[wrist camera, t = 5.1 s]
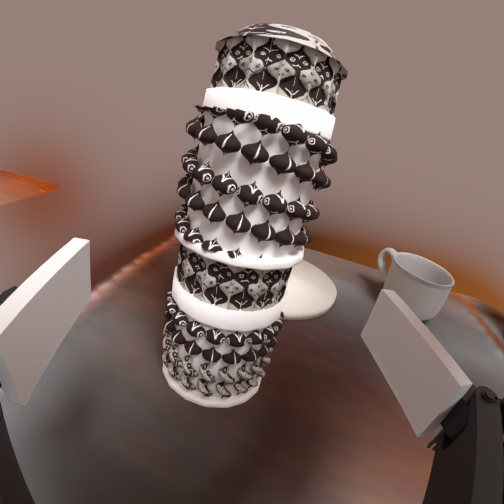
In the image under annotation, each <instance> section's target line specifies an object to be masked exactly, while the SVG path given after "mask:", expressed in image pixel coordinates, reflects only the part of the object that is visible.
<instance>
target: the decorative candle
mask: <svg viewBox="0 0 504 504" xmlns="http://www.w3.org/2000/svg"><path fill="white" fill-rule="evenodd" d="M215 49H216V50H217V51H218V52H219V55H218V58H217V62H216V66H215V70H214V74H213V78H212V82H211V86H210V88H209V89H207V90H206V94H205V98H204V103H203V107H202V106H198V105H197V106H195V108H197V109H198V111H200V112H201V114H204V115H206V118H205V117H204V115H203V116H202V117H200V118H198V116H197V117H196V118H195V119H192V120H190V121H188V122H187V124H186V132H187V133H188V134H190V135H191V136H192V137H193V138H194V141H195V139H196V138H197V139H198V140H199V141H200V146H199V145H198V146H197V147H196V148H193V149H191V150H189V151H188V152H187V153H185V154H184V155H183V156H182V158H181V159H182V163H183V169H184V170H185V171H186V172H187V173H188V174H186V176H185V177H182V178H181V179H180V180H179V181H178V188H177V193H178V195H179V196H180V197H182V198H184V199H185V203H183V204H182V205H181V208H180V209H179V210H178V211H177V212H176V213H175V219H176V223H175V227H176V229H175V236H176V237H177V238H178V240H179V241H180V242H181V244H180V251H179V258H178V265H177V266H176V267H175V272H174V278H173V288H172V290H170V291H169V292H168V293H167V295H166V298H167V300H168V302H167V303H166V312H165V317H166V318H167V320H166V321H165V323H164V326H165V328H164V331H163V337H164V339H163V347H162V349H163V355H162V361H163V371H162V372H163V374H164V376H165V378H166V380H167V382H168V384H169V386H170V387H171V388H172V389H173V390H174V391H175V392H177V393H178V394H179V395H180V396H181V397H182V398H184V399H185V400H188V401H190V402H193V403H196V404H198V405H201V406H204V407H214V408H229V407H232V406H235V405H239V404H242V403H245V402H246V401H248V400H249V399H250V398H251V397H252V396H253V395H254V394H255V393H256V392H257V391H258V389H259V385H260V382H261V379H262V378H263V377H264V376H265V372H264V371H263V368H262V367H261V366H267V364H269V363H270V361H271V360H270V358H269V357H268V356H267V354H268V353H271V352H272V351H273V347H274V346H275V345H276V338H275V336H277V335H278V331H279V330H280V329H281V328H282V321H281V320H282V319H283V318H284V314H283V312H282V308H283V305H284V302H285V298H286V294H287V290H286V287H287V283H288V280H289V277H290V273H291V270H292V267H293V266H295V265H297V264H299V263H301V262H302V259H303V253H304V247H303V245H305V244H308V243H310V242H311V241H312V236H311V234H310V233H309V231H308V230H307V229H306V227H304V226H303V223H304V222H306V221H307V222H308V221H311V220H315V219H317V218H318V217H319V214H320V213H319V210H318V209H317V208H316V207H315V206H314V204H313V201H312V204H311V200H310V202H309V199H310V195H311V191H312V188H313V189H315V190H317V189H318V191H319V190H320V189H324V188H328V187H329V186H330V184H331V181H330V179H329V178H328V177H327V176H326V174H325V173H324V170H323V171H322V170H321V166H324V165H325V166H326V165H329V164H333V163H335V162H336V161H337V151H336V150H335V148H334V147H333V146H331V144H330V139H331V135H332V130H333V126H334V123H335V117H333V114H334V109H335V105H336V101H337V97H338V92H339V88H340V83H341V80H343V79H346V77H347V74H348V71H347V70H346V69H345V68H344V67H343V65H342V64H341V63H340V62H339V61H337V60H336V58H335V55H334V53H333V51H332V50H331V49H330V47H329V46H328V45H327V44H326V43H325V42H324V41H323V40H322V39H320V38H318V37H317V36H315V35H313V34H311V33H309V32H307V31H304V30H301V29H298V28H295V27H291V26H286V25H280V24H272V23H267V24H254V25H251V26H248V27H245V28H243V29H241V30H239V31H238V32H237V33H235V34H234V35H233V36H230V37H227V38H225V39H222V40H220V41H217V42H216V47H215ZM327 142H328V143H327ZM318 165H319V169H318ZM317 169H318V170H317ZM191 185H192V188H191ZM185 215H186V216H185ZM273 322H274V323H273Z"/></svg>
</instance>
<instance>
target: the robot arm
mask: <svg viewBox="0 0 504 504" xmlns="http://www.w3.org/2000/svg"><path fill="white" fill-rule="evenodd" d="M90 298H91V284H90V241H89V240H85V239H79V238H73V239H72V240H71V241H70V242H69V243H67V244H66V245H65V246H64V247H63V248H61V249H60V250H59V251H58V252H57V253H56V254H54V255H53V256H52V257H51V258H50V259H49V260H48V261H47V262H46V263H44V264H43V265H42V266H41V267H40V268H39V269H38V270H37V271H35V272H34V274H32V275H31V276H30V277H29V278H28V279H27V280H26V281H25V282H24V283H23V284H22V285H21V286H20V287H16V286H14V287H12V288H10V289H8V290H6V291H4V292H3V293H2V294H1V295H0V388H1V387H2V389H3V391H4V393H5V395H6V397H7V398H8V399H10V400H12V401H14V402H16V403H18V404H21V405H23V406H25V407H26V405H27V403H28V401H29V399H30V397H31V395H32V393H33V391H34V390H35V388H36V386H37V384H38V382H39V380H40V378H41V377H42V375H43V373H44V371H45V370H46V368H47V366H48V364H49V363H50V361H51V359H52V357H53V356H54V354H55V352H56V351H57V349H58V347H59V346H60V344H61V342H62V341H63V339H64V338H65V336H66V334H67V333H68V331H69V330H70V328H71V327H72V325H73V323H74V322H75V320H76V319H77V317H78V316H79V314H80V313H81V311H82V310H83V308H84V307H85V305H86V304H87V302H88V301H89V299H90ZM360 336H361V337H362V339H363V341H364V342H365V344H366V346H367V347H368V349H369V351H370V353H371V354H372V356H373V358H374V359H375V361H376V363H377V365H378V366H379V368H380V370H381V371H382V373H383V375H384V377H385V379H386V380H387V382H388V384H389V386H390V387H391V389H392V391H393V393H394V395H395V396H396V398H397V400H398V402H399V404H400V405H401V407H402V409H403V411H404V413H405V415H406V416H407V418H408V420H409V422H410V424H411V426H412V428H413V430H414V432H415V433H416V435H417V437H421V436H425V435H429V434H431V433H432V432H433V431H434V430H435V429H436V428H437V427H438V426H439V425H440V424H441V425H442V427H443V429H442V430H441V431H440V433H439V434H438V435H437V436H436V437H435V438H434V439H433V440H432V441H431V442H430V443H429V444H428V446H427V448H430V447H431V446H432V445H433V444H434V443H437V444H436V445H435V446H434V447H433V448H432V450H435V455H434V460H433V465H432V469H431V473H430V478H429V482H428V486H427V489H426V493H425V497H424V500H423V503H422V504H504V442H503V435H504V398H503V399H498V397H497V396H496V394H495V393H494V392H493V391H492V390H490V389H489V388H487V387H484V386H479V387H478V388H476V387H475V386H474V385H473V383H472V382H471V381H470V379H469V378H468V377H467V376H466V374H465V373H464V372H463V370H462V369H461V368H460V367H459V365H458V364H457V363H456V362H455V360H454V359H453V358H452V357H451V356H450V354H449V353H448V352H447V351H446V349H445V348H444V347H443V346H442V345H441V343H440V342H439V341H438V340H437V339H436V338H435V336H434V335H433V334H432V333H431V332H430V331H429V329H428V328H427V327H426V326H425V325H424V324H423V322H422V321H421V320H420V319H419V318H418V317H417V316H416V315H415V313H414V312H413V311H412V310H411V309H410V308H409V307H408V306H407V304H406V303H405V302H404V301H403V300H402V299H401V298H400V297H399V296H398V295H397V294H396V292H395V291H394V290H387V289H381V291H380V294H379V296H378V298H377V301H376V303H375V305H374V307H373V309H372V312H371V314H370V316H369V318H368V320H367V322H366V325H365V327H364V329H363V331H362V333H361V335H360ZM0 504H35V503H34V501H33V498H32V496H31V494H30V492H29V490H28V487H27V485H26V482H25V480H24V478H23V475H22V473H21V470H20V467H19V465H18V462H17V459H16V456H15V453H14V450H13V447H12V444H11V441H10V438H9V434H8V431H7V427H6V424H5V420H4V416H3V412H2V407H1V403H0Z"/></svg>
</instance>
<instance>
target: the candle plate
mask: <svg viewBox="0 0 504 504" xmlns="http://www.w3.org/2000/svg"><path fill="white" fill-rule="evenodd" d="M286 290H287V294H286V298H285V302H284V305H283V308H282V312H283V314H284V318H283V319H282V320H289V321H300V320H309V319H313V318H317V317H320V316H322V315H324V314H326V313H327V312H328V311H329V310H330V309H331V308H332V306H333V304H334V301H335V299H336V295H337V291H336V287H335V285H334V283H333V282H332V280H331V279H330V278H329V277H328V276H327V275H326V274H325V273H324V272H322V271H321V270H320V269H318V268H317V267H315V266H314V265H312V264H310V263H308V262H306V261H304V260H302V262H301V263H299V264H297V265H295V266H293V267H292V270H291V273H290V277H289V280H288V283H287V287H286Z"/></svg>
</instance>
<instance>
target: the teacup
mask: <svg viewBox="0 0 504 504" xmlns="http://www.w3.org/2000/svg"><path fill="white" fill-rule="evenodd" d="M387 254H390V255H391V257H392V264H391V266H390V268H389V271H387V269H386V266H385V256H386V255H387ZM378 267H379V269H380V272H381V274H382V276H383V278H384V282H385V283H384V287H383V289H387V290H394V291H395V292H396V294H397V295H398V296H399V297H400V298H401V299H402V300H403V301H404V302H405V303H406V304H407V306H408V307H409V308H410V309H411V310H412V311H413V312H414V313H415V315H416V316H417V317H418V318H419V319H420V320H421V321H424V320H429V319H432V318H433V317H435V316H436V315H437V314H438V313H439V311H440V310H441V308H442V306H443V305H444V303H445V301H446V299H447V297H448V295H449V293H450V290H451V288H452V287H453V286H454V283H455V281H454V279H453V277H452V276H451V275H450V273H449V272H447V271H446V270H445V269H444V268H442V267H441V266H439V265H438V264H436V263H434V262H432V261H430V260H428V259H426V258H424V257H421V256H418V255H415V254H411V253H404V252H399V253H397V252H396V251H395V250H394V249H392V248H386V249H383V250H382V251H381V252H380V254H379V256H378Z"/></svg>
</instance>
